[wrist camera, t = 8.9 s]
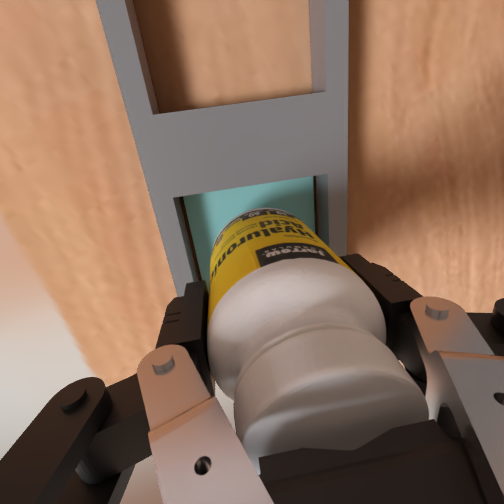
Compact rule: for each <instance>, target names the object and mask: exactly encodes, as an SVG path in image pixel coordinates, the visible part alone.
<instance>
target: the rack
mask: <svg viewBox="0 0 504 504" xmlns="http://www.w3.org/2000/svg"><path fill="white" fill-rule="evenodd" d="M96 3H97V7H98V10H99V14H100V18H101V21H102V25H103V29H104V32H105V36H106V39H107V43H108V47H109V50H110V54H111V57H112V61H113V65H114V68H115V72H116V75H117V79H118V83H119V86H120V90H121V93H122V97H123V101H124V104H125V108H126V112H127V115H128V119H129V122H130V126H131V130H132V133H133V137H134V140H135V144H136V148H137V151H138V155H139V158H140V162H141V166H142V169H143V173H144V177H145V180H146V184H147V187H148V191H149V195H150V198H151V202H152V205H153V209H154V213H155V216H156V220H157V223H158V227H159V231H160V234H161V238H162V241H163V245H164V249H165V252H166V256H167V260H168V263H169V267H170V270H171V274H172V278H173V281H174V285H175V288H176V292H177V296H178V297H181V296H184V292H185V287H186V283H190V282H196V281H199V280H198V276H197V271H196V267H195V263H194V259H193V254H192V250H191V246H190V242H189V237H188V233H187V229H186V225H185V220H184V216H183V212H182V208H181V203H180V199H179V197H181V196H183V199H184V203H185V208H186V212H187V217H188V221H189V225H190V230H191V234H192V238H193V243H194V247H195V251H196V256H197V260H198V264H199V269H200V273H201V277H202V280H205V281H206V284H207V288H208V293H209V280H210V262H211V253H212V248H213V245H214V242H215V239H216V238H217V236H218V234H219V232H220V231H221V230H222V228H223V227H224V226H225V225H226V224H227V223H228V222H229V221H230V220H231V219H233V218H234V217H236V216H238V215H239V214H241V213H243V212H246V211H249V210H252V209H257V208H275V209H280V210H283V211H286V212H288V213H290V214H292V215H294V216H295V217H297V218H298V219H300V220H301V221H302V222H303V223H304V224H305V225H306V226H307V227H308V228H309V229H310V230H312V231H313V232H314V233H315V215H314V191H313V176H316V201H317V228H318V237H319V238H320V239H321V240H322V241H323V242H324V243H325V244H326V245H327V246H328V247H329V248H330V249H331V250H332V251H333V252H334V253H335V254H336V255H337V256H338V257H340V256H346V255H347V185H348V39H349V0H309V16H310V43H311V69H312V94H305V95H297V96H290V97H282V98H275V99H267V100H260V101H252V102H245V103H237V104H230V105H223V106H215V107H208V108H200V109H193V110H185V111H178V112H170V113H163V114H159V110H158V106H157V101H156V97H155V93H154V89H153V85H152V80H151V76H150V72H149V68H148V63H147V59H146V55H145V51H144V46H143V42H142V38H141V34H140V29H139V25H138V21H137V17H136V12H135V8H134V4H133V0H96Z"/></svg>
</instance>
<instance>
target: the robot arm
mask: <svg viewBox="0 0 504 504" xmlns="http://www.w3.org/2000/svg"><path fill="white" fill-rule="evenodd" d="M339 258H340V259H341V260H342V261H343V262H345V263H346V264H347V265H348V266H349V267H350V268H351V269H352V270H353V271H354V272H355V273H356V274H357V275H358V276H359V277H360V278H361V279H362V280H363V281H364V283H365V284H366V285H367V286H368V287H369V289H370V290H371V291H372V293H373V294H374V296H375V297H376V299H377V301H378V303H379V305H380V307H381V310H382V312H383V315H384V319H385V324H386V346H387V347H388V348H389V349H390V350H391V351H392V352H393V354H394V355H395V356H396V358H397V359H398V360H400V361H401V362H402V363H403V368H404V369H405V370H406V371H407V373H408V374H409V375H410V376H411V378H412V379H413V380H414V381H415V383H416V384H417V385H418V386H419V388H420V389H421V391H422V393H423V394H424V397H425V399H426V402H427V405H428V409H429V420H427V421H422V422H417V423H413V424H408V425H404V426H399V427H395V428H391V429H390V430H388V431H386V432H385V433H383V434H381V435H380V436H378V437H376V438H375V439H373V440H371V441H369V442H368V443H366V444H364V445H363V446H361V447H359V448H357V449H355V450H333V449H316V448H299V449H295V450H290V451H286V452H281V453H277V454H272V455H268V456H263V457H258V459H259V466H260V473H261V474H259V475H258V473H257V471H256V470H255V468H254V466H253V464H252V462H251V460H250V459H249V457H248V455H247V453H246V451H245V449H244V448H243V446H242V444H241V442H240V440H239V438H238V436H237V435H236V433H235V431H234V430H233V428H232V426H231V424H230V422H229V420H228V418H227V416H226V414H225V413H224V411H223V409H222V407H221V405H220V403H219V402H218V400H217V398H216V397H215V379H214V377H213V375H212V373H211V370H210V366H209V362H208V358H207V317H208V299H209V293H208V288H207V284H206V281H205V280H201V281H196V282H190V283H186V287H185V292H184V296H181V297H176V298H174V299H173V300H172V301H171V302H170V304H169V305H168V306H167V309H166V312H165V317H164V319H163V324H162V327H161V330H160V334H159V337H158V341H157V344H156V348H155V350H153V351H151V352H150V353H149V354H147V355H146V356H145V357H144V358H143V359H142V361H141V362H140V364H139V365H138V368H137V373H136V374H134V375H133V376H131V377H128V378H126V379H124V380H122V381H120V382H117V383H115V384H113V385H110V386H108V387H106V386H105V384H104V382H103V381H102V380H101V379H99V378H96V377H88V378H83V379H81V380H77V381H75V382H73V383H71V384H69V385H67V386H66V387H65V388H63V389H62V390H60V391H59V392H58V393H57V394H56V395H54V396H53V397H52V399H51V400H50V401H49V402H48V403H47V404H46V406H45V407H44V408H43V409H42V410H41V412H40V413H39V414H38V415H37V416H36V418H35V419H34V420H33V421H32V423H31V424H30V425H29V426H28V427H27V429H26V430H25V431H24V432H23V434H22V435H21V436H20V437H19V439H18V440H17V441H16V442H15V443H14V444H13V446H12V447H11V448H10V449H9V451H8V452H7V453H6V454H5V456H4V457H3V458H2V459H1V460H0V504H120V501H121V499H122V496H123V494H124V492H125V489H126V487H127V484H128V482H129V479H130V477H131V474H132V472H133V469H134V467H135V464H136V463H138V462H140V461H142V460H144V459H145V458H147V457H149V456H151V455H152V456H153V460H154V465H155V469H156V474H157V478H158V483H159V487H160V492H161V496H162V501H163V504H504V298H502V299H499V300H497V301H496V302H495V305H494V309H493V313H466V312H465V311H464V309H463V308H462V307H460V306H459V305H457V304H456V303H454V302H452V301H449V300H446V299H443V298H438V297H423V296H422V295H421V294H419V293H418V292H417V291H415V290H414V289H413V288H411V287H410V286H409V285H407V284H406V283H405V282H404V281H401V280H400V278H398V277H397V276H396V275H393V273H392V272H390V271H389V270H388V269H386V268H385V267H383V266H380V265H377V264H375V263H369V262H368V261H367V260H366V259H364V258H363V257H362V256H361V255H359V254H352V255H346V256H340V257H339Z"/></svg>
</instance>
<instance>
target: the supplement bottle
mask: <svg viewBox="0 0 504 504" xmlns="http://www.w3.org/2000/svg"><path fill="white" fill-rule="evenodd" d="M207 358H208V362H209V366H210V370H211V373H212V375H213V377H214V379H215V381H216V383H217V384H218V386H219V387H220V389H221V390H222V391H223V392H224V393H225V395H226V396H227V397H228V398H229V399H231V400H232V401H233V402H234V419H235V427H236V435H237V436H238V438H239V440H240V442H241V444H242V446H243V448H244V449H245V451H246V453H247V455H248V457H249V459H250V460H251V462H252V464H253V466H254V468H255V470H256V471H257V473H258V475H259V474H261V473H260V466H259V459H258V457H263V456H268V455H272V454H277V453H281V452H286V451H290V450H295V449H299V448H316V449H333V450H355V449H357V448H359V447H361V446H363V445H364V444H366V443H368V442H369V441H371V440H373V439H375V438H376V437H378V436H380V435H381V434H383V433H385V432H386V431H388V430H390V429H391V428H395V427H399V426H404V425H408V424H413V423H417V422H422V421H427V420H429V409H428V405H427V402H426V399H425V397H424V394H423V393H422V391H421V389H420V388H419V386H418V385H417V384H416V383H415V381H414V380H413V379H412V378H411V376H410V375H409V374H408V373H407V371H406V370H405V369H404V368H403V366H402V365H401V364H400V362H399V361H398V359H397V358H396V356H395V355H394V354H393V352H392V351H391V350H390V349H389V348H388V347H387V346H386V324H385V319H384V315H383V312H382V310H381V307H380V305H379V303H378V301H377V299H376V297H375V296H374V294H373V293H372V291H371V290H370V289H369V287H368V286H367V285H366V284H365V283H364V281H363V280H362V279H361V278H360V277H359V276H358V275H357V274H356V273H355V272H354V271H353V270H352V269H351V268H350V267H349V266H348V265H347V264H346V263H345V262H343V261H342V260H341V259H340V258H339V257H338V256H337V255H336V254H335V253H334V252H333V251H332V250H331V249H330V248H329V247H328V246H327V245H326V244H325V243H324V242H323V241H322V240H321V239H320V238H319V237H318V236H317V235H316V234H315V233H314V232H313V231H312V230H310V229H309V228H308V227H307V226H306V225H305V224H304V223H303V222H302V221H301V220H300V219H298V218H297V217H295V216H294V215H292V214H290V213H288V212H286V211H283V210H280V209H275V208H257V209H252V210H249V211H246V212H243V213H241V214H239V215H238V216H236V217H234V218H233V219H231V220H230V221H229V222H228V223H227V224H226V225H225V226H224V227H223V228H222V230H221V231H220V232H219V234H218V236H217V238H216V239H215V242H214V245H213V248H212V253H211V262H210V280H209V299H208V317H207Z"/></svg>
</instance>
